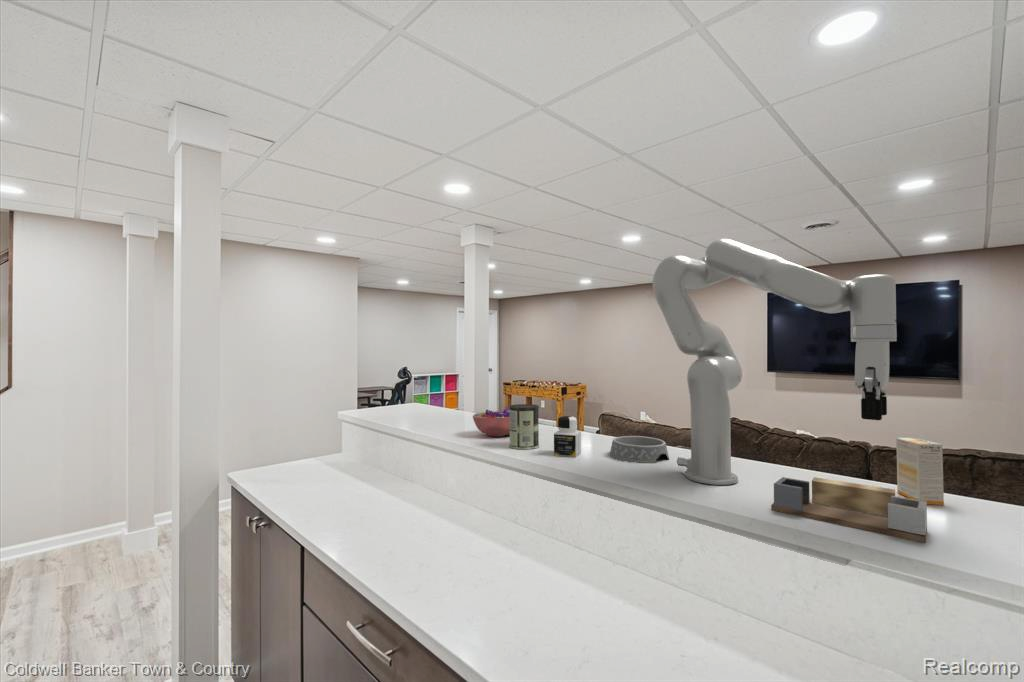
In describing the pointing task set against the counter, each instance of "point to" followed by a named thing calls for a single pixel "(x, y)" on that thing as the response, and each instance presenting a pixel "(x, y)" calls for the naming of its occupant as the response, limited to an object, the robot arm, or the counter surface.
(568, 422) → the medicine bottle
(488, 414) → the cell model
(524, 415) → the coffee can
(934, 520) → the counter surface
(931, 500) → the supplement box
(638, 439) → the dog bowl
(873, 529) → the base board
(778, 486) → the grey end holder
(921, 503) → the bracket
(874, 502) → the slat
